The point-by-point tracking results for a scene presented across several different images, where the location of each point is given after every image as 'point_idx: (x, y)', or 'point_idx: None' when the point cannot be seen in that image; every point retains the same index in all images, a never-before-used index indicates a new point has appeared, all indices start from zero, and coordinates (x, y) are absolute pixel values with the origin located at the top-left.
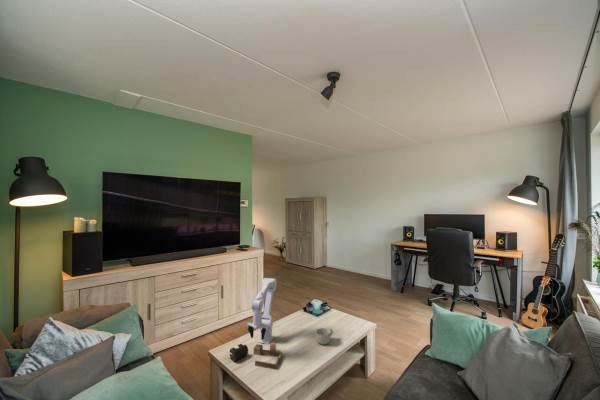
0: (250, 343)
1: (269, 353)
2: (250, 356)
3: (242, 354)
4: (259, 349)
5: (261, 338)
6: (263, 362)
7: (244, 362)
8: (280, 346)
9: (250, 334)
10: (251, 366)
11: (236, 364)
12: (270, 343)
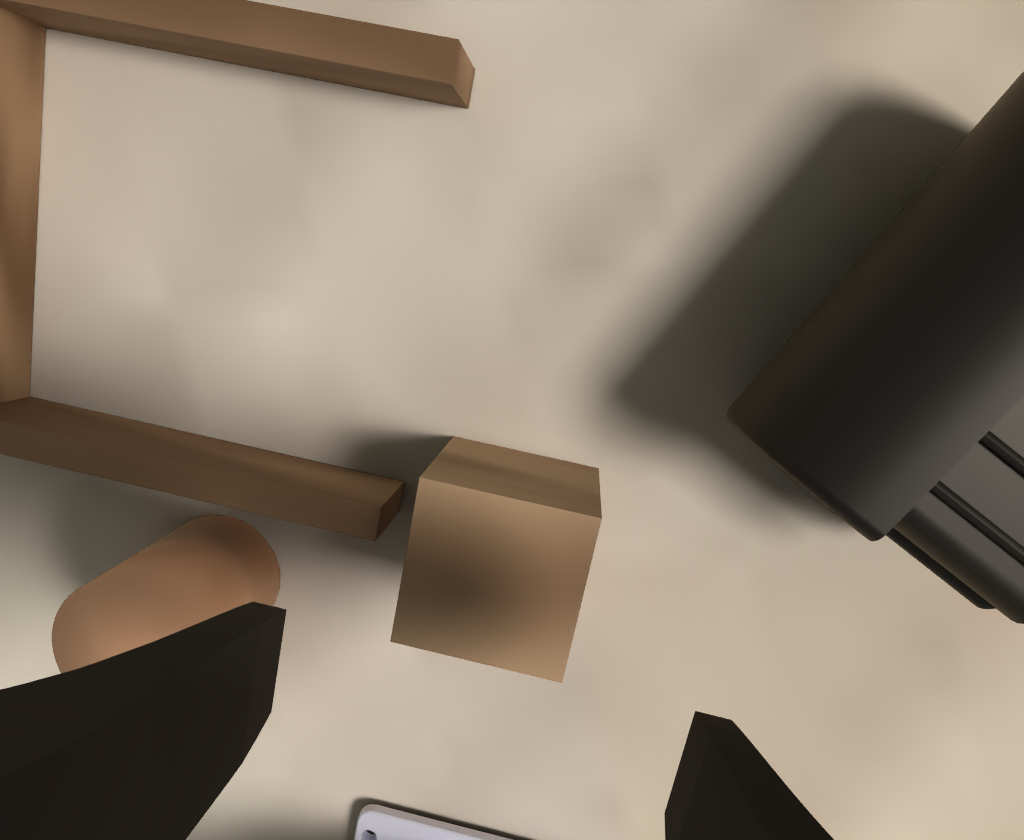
0: None
1: (237, 457)
2: (651, 389)
3: (861, 259)
4: (435, 474)
5: (259, 625)
6: (236, 19)
7: (743, 160)
8: None
9: (806, 822)
10: (545, 27)
11: (926, 65)
12: None
